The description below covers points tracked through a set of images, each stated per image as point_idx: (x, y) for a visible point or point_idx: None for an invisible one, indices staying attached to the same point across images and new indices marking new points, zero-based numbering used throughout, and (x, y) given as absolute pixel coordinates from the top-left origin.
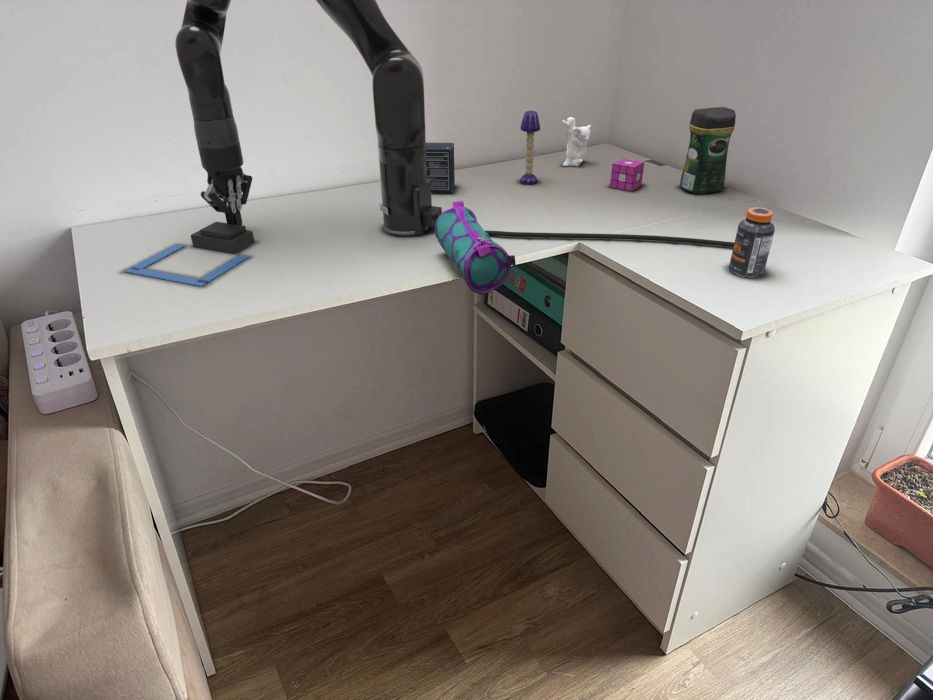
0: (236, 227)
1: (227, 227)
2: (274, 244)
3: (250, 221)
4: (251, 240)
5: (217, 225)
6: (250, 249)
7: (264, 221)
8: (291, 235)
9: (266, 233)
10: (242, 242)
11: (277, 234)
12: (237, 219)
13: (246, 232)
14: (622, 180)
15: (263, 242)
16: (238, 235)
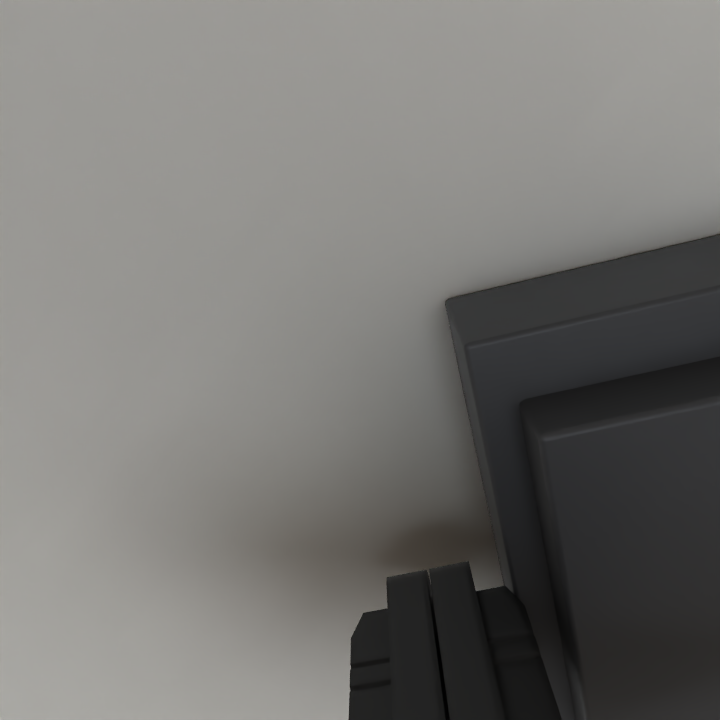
0: (654, 486)
1: (704, 580)
2: (352, 42)
3: (113, 716)
4: (500, 297)
5: (702, 714)
6: (621, 172)
7: (19, 632)
8: (26, 98)
9: (193, 393)
10: (685, 266)
11: (128, 272)
12: (458, 661)
13: (556, 361)
14: None
15: (386, 215)
16: (693, 364)
